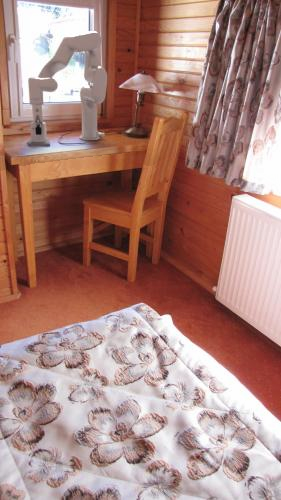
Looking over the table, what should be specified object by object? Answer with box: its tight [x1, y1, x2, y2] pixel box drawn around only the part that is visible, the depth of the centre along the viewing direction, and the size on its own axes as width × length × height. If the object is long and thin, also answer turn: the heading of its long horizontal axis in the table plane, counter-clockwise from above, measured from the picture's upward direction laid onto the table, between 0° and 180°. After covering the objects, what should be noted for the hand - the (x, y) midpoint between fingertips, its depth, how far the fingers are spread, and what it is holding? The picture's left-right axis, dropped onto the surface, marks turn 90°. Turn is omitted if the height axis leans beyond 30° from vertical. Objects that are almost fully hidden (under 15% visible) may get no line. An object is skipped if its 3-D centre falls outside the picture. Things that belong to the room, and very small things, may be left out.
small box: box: [29, 121, 48, 142], centre depth 229 cm, size 8×6×10 cm
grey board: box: [27, 138, 51, 147], centre depth 231 cm, size 12×12×2 cm
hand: (38, 132), depth 229 cm, fingers open, 9 cm apart
